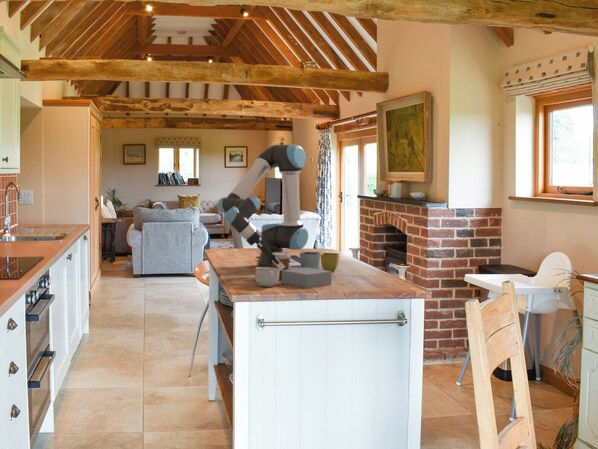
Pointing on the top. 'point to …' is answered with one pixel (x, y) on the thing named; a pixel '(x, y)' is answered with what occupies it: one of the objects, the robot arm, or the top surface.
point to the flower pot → (329, 261)
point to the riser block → (306, 277)
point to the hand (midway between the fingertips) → (282, 266)
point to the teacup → (267, 276)
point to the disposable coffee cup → (282, 261)
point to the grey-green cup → (310, 259)
